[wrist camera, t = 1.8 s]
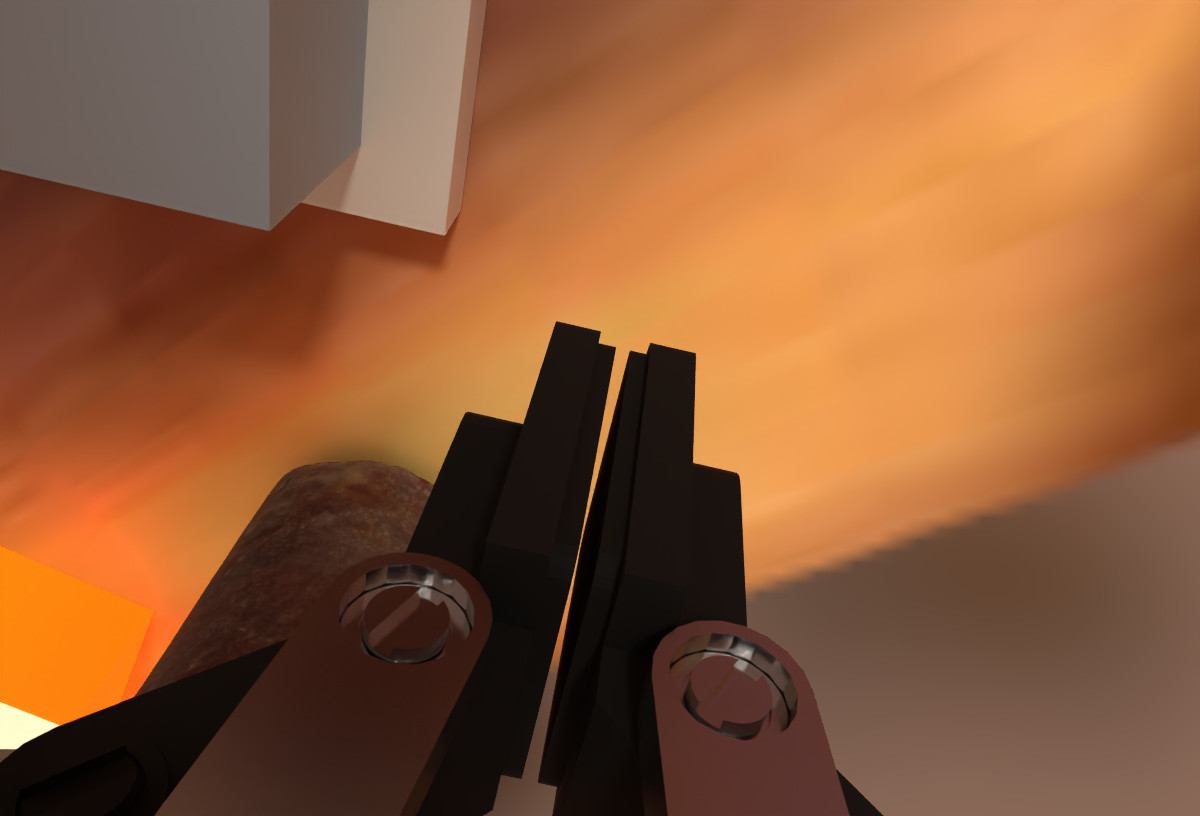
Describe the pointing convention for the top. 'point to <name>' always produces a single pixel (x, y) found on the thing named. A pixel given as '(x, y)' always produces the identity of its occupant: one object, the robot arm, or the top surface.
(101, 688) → the orange juice
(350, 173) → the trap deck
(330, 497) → the brown piece
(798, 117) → the top surface
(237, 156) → the block
